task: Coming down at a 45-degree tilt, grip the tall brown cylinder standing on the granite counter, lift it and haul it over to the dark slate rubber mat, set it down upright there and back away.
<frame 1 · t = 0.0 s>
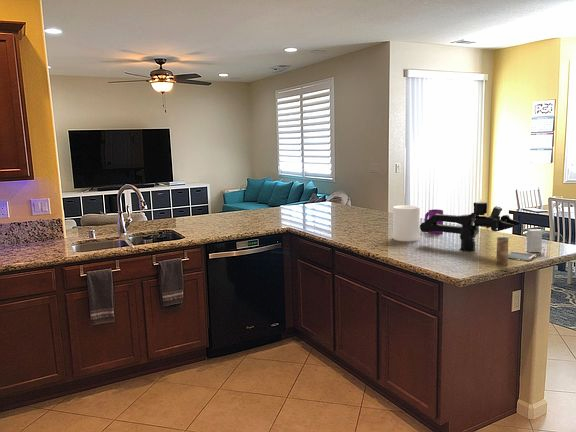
hand: (517, 224, 243), 17 cm above the counter, tool horizontal, fingers open, 9 cm apart
brown cylinder: (501, 263, 231), on the counter
canister: (406, 238, 297), on the counter
mug: (432, 232, 314), on the counter
slate mat: (520, 257, 242), on the counter
skincare box: (533, 252, 253), on the counter
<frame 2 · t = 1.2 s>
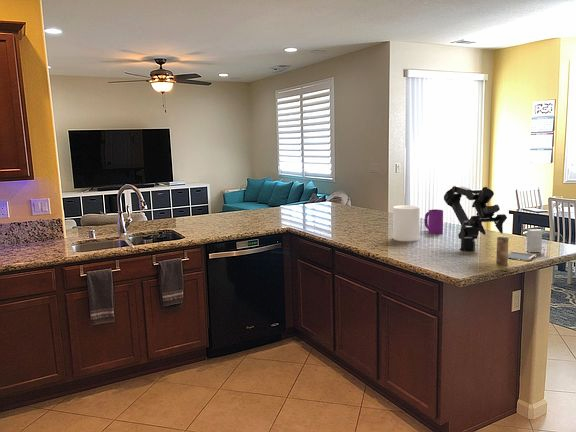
hand: (493, 233, 237), 13 cm above the counter, tool tilted 45°, fingers open, 9 cm apart
nothing on the counter moved.
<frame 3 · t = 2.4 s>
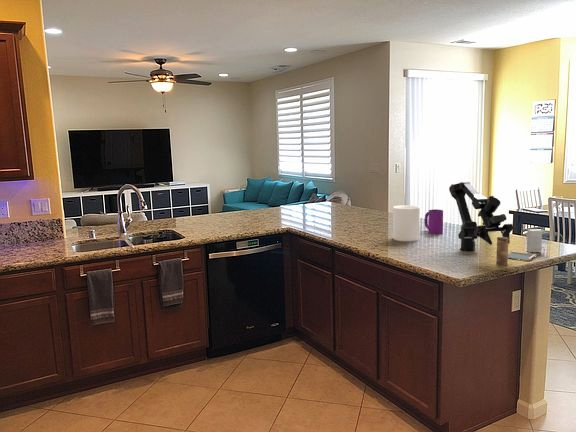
hand: (500, 243, 232), 10 cm above the counter, tool tilted 45°, fingers open, 9 cm apart
nothing on the counter moved.
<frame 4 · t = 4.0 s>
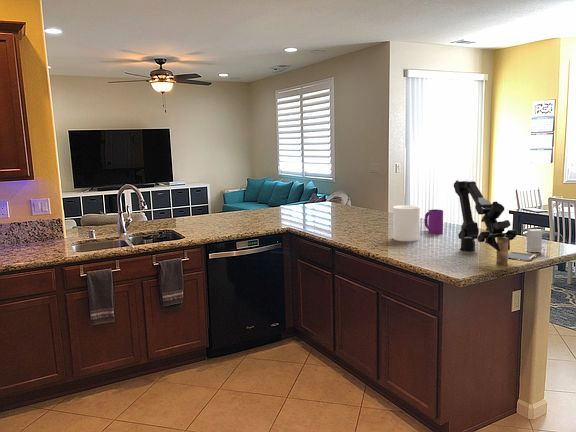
hand: (504, 250, 229), 7 cm above the counter, tool tilted 45°, fingers closed on brown cylinder, 5 cm apart
brown cylinder: (501, 263, 231), on the counter, touching gripper
everything else where it was.
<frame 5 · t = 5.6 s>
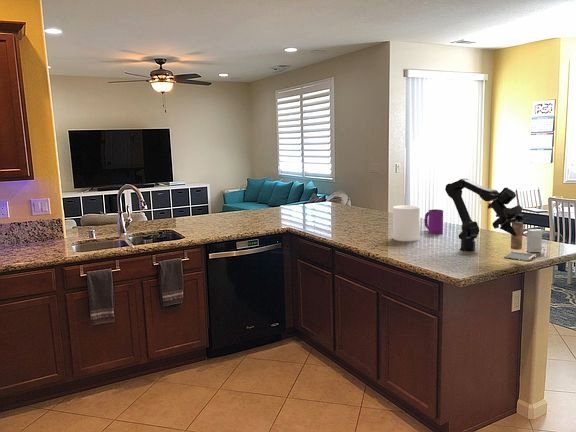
hand: (519, 235, 233), 13 cm above the counter, tool tilted 45°, fingers closed on brown cylinder, 5 cm apart
brown cylinder: (516, 248, 235), point 6 cm above the counter, touching gripper
everything else where it was.
when the fingers open (8 cm above the counter, at t = 7.6 s): brown cylinder stays where it is, resting on slate mat.
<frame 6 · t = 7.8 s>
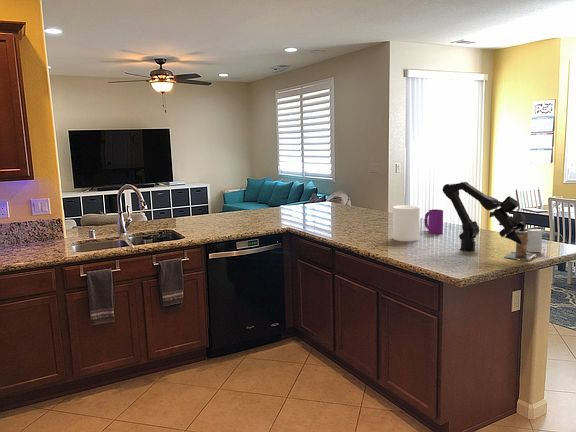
hand: (524, 242, 238), 8 cm above the counter, tool tilted 45°, fingers open, 7 cm apart
brown cylinder: (520, 257, 240), point 1 cm above the counter, touching slate mat
everything else where it was.
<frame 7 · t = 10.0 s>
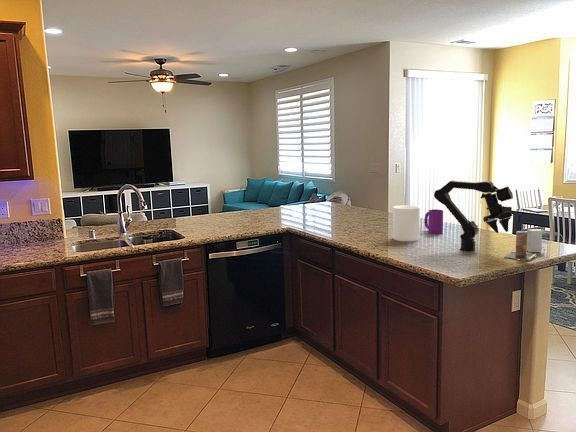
hand: (502, 232, 250), 11 cm above the counter, tool tilted 20°, fingers open, 9 cm apart
nothing on the counter moved.
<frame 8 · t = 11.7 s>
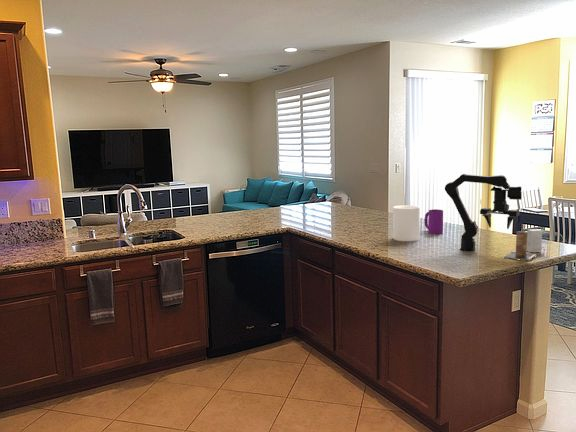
hand: (498, 228, 254), 13 cm above the counter, tool pointing down, fingers open, 9 cm apart
nothing on the counter moved.
at the end: brown cylinder inside the target area on the slate mat (2.2 cm from its centre), point 0.6 cm above the slate mat's base; brown cylinder tilted 1°; the gripper is holding nothing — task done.
